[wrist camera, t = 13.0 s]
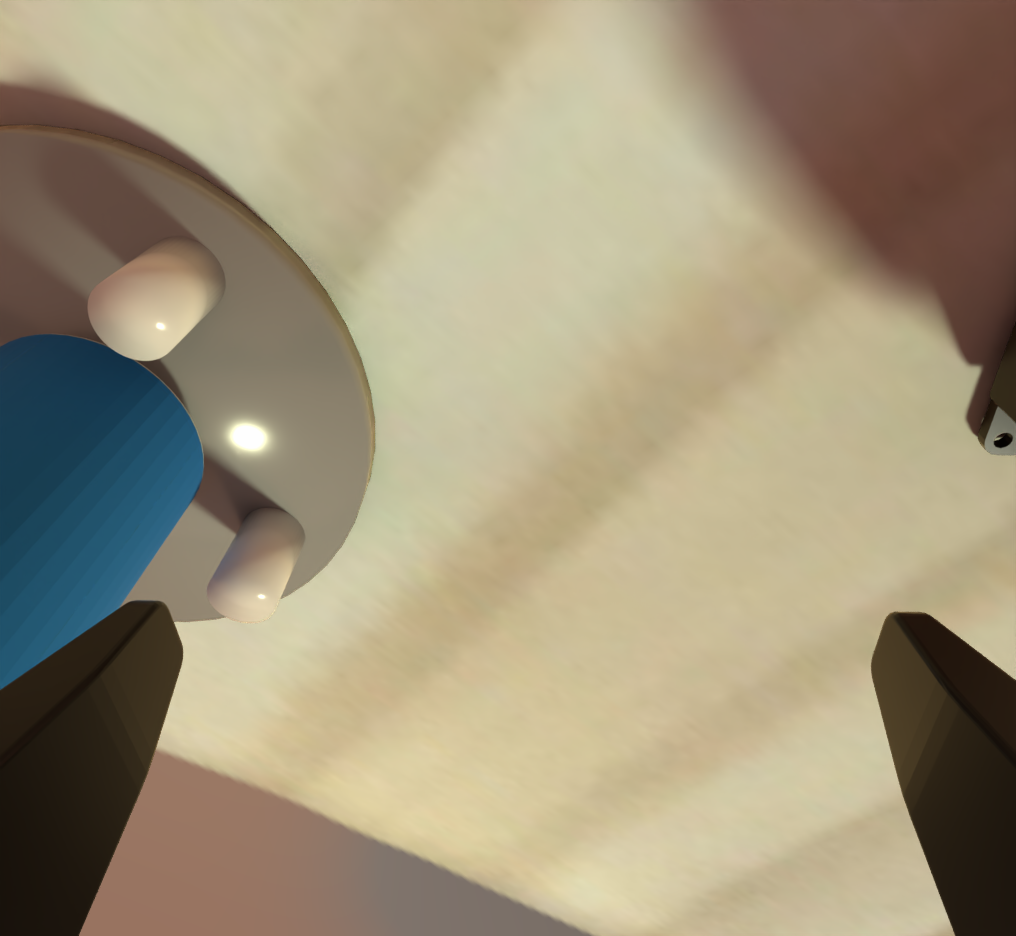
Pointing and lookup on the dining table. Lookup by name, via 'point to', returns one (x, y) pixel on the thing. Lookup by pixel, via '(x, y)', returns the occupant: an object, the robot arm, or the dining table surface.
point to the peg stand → (197, 355)
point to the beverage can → (82, 487)
